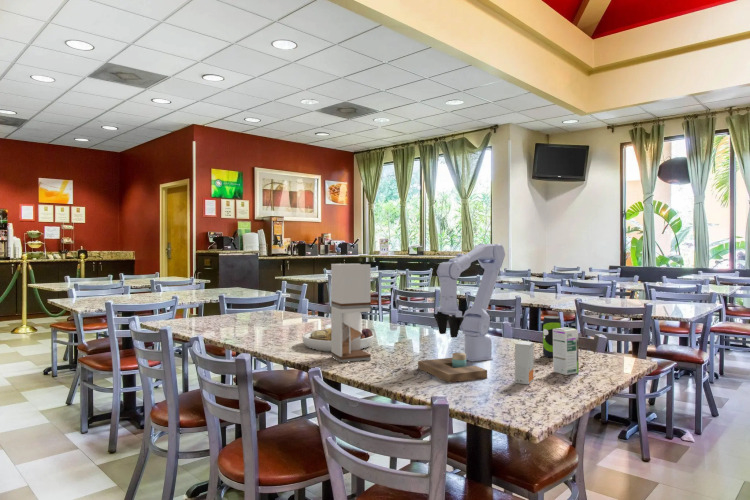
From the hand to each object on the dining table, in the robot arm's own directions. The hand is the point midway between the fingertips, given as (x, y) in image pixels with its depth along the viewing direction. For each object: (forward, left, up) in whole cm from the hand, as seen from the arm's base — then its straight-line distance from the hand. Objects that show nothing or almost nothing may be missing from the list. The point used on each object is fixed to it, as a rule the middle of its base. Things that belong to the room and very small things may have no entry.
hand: (448, 335), depth 179 cm
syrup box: (-30, +24, -11) cm, 40 cm away
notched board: (+5, +10, -10) cm, 15 cm away
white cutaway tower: (+28, -23, -11) cm, 38 cm away
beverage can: (-43, +3, -11) cm, 45 cm away
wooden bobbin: (+2, +10, -10) cm, 14 cm away
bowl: (+24, -49, -11) cm, 56 cm away
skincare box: (-10, +28, -11) cm, 32 cm away
